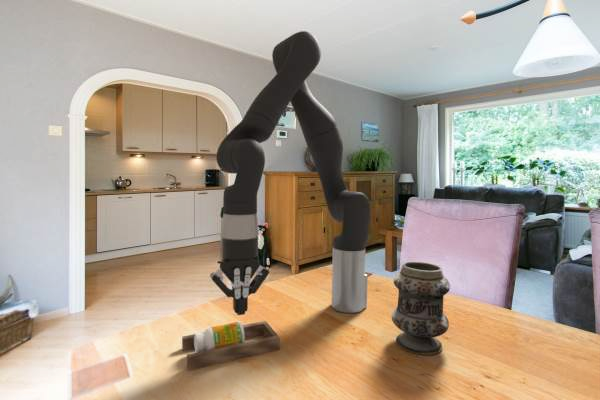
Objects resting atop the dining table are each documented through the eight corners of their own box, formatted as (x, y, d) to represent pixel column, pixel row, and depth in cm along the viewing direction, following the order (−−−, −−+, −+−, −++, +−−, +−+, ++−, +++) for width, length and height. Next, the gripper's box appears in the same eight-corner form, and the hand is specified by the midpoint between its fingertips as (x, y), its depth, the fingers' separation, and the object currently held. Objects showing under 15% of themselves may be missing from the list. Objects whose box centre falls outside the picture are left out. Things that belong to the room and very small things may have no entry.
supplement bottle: (246, 338, 69) (198, 348, 64) (242, 352, 72) (196, 363, 67) (240, 316, 72) (194, 324, 68) (236, 330, 75) (192, 339, 71)
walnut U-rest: (265, 331, 79) (265, 320, 79) (279, 349, 71) (279, 337, 71) (182, 348, 71) (182, 336, 71) (187, 370, 63) (187, 357, 63)
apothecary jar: (445, 336, 78) (448, 261, 77) (450, 363, 67) (454, 276, 65) (392, 327, 82) (394, 256, 81) (388, 351, 71) (391, 269, 69)
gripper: (263, 229, 76) (263, 302, 78) (205, 233, 70) (205, 312, 72) (275, 235, 69) (275, 315, 71) (212, 240, 64) (212, 326, 65)
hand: (240, 313), depth 71 cm, fingers closed
